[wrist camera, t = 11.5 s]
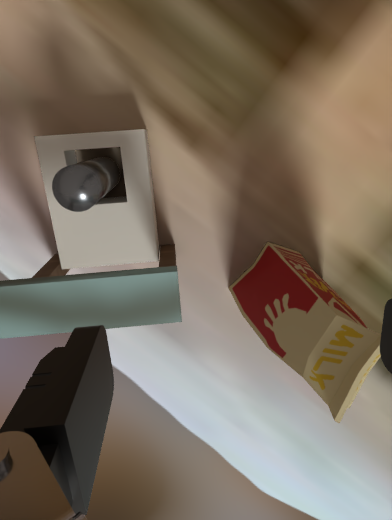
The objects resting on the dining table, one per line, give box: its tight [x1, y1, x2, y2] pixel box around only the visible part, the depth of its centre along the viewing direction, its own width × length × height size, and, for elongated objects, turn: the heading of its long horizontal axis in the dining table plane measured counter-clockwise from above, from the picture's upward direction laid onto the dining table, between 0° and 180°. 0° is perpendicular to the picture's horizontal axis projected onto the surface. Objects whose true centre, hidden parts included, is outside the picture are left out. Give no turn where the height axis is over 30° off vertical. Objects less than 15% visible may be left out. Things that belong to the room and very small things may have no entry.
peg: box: [52, 157, 121, 212], centre depth 31 cm, size 3×3×12 cm
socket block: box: [34, 129, 159, 269], centre depth 36 cm, size 13×10×4 cm
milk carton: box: [229, 242, 381, 423], centre depth 33 cm, size 9×9×20 cm
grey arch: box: [0, 244, 182, 339], centre depth 33 cm, size 4×14×15 cm, turn 94°
